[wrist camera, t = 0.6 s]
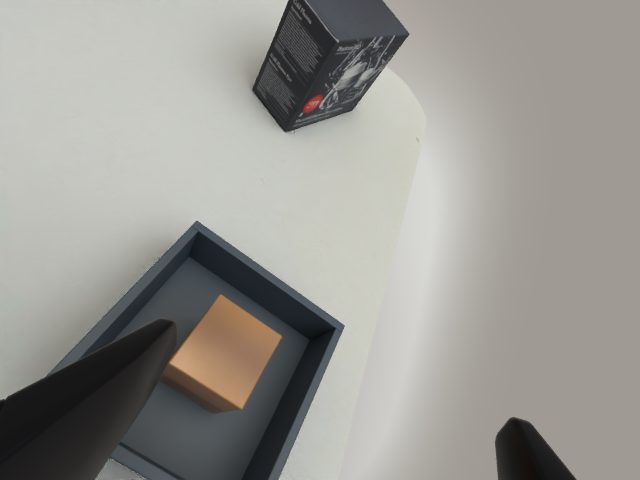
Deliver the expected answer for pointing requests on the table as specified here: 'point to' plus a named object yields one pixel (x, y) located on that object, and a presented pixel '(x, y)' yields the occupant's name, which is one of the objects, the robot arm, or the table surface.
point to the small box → (326, 58)
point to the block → (222, 358)
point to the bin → (268, 394)
